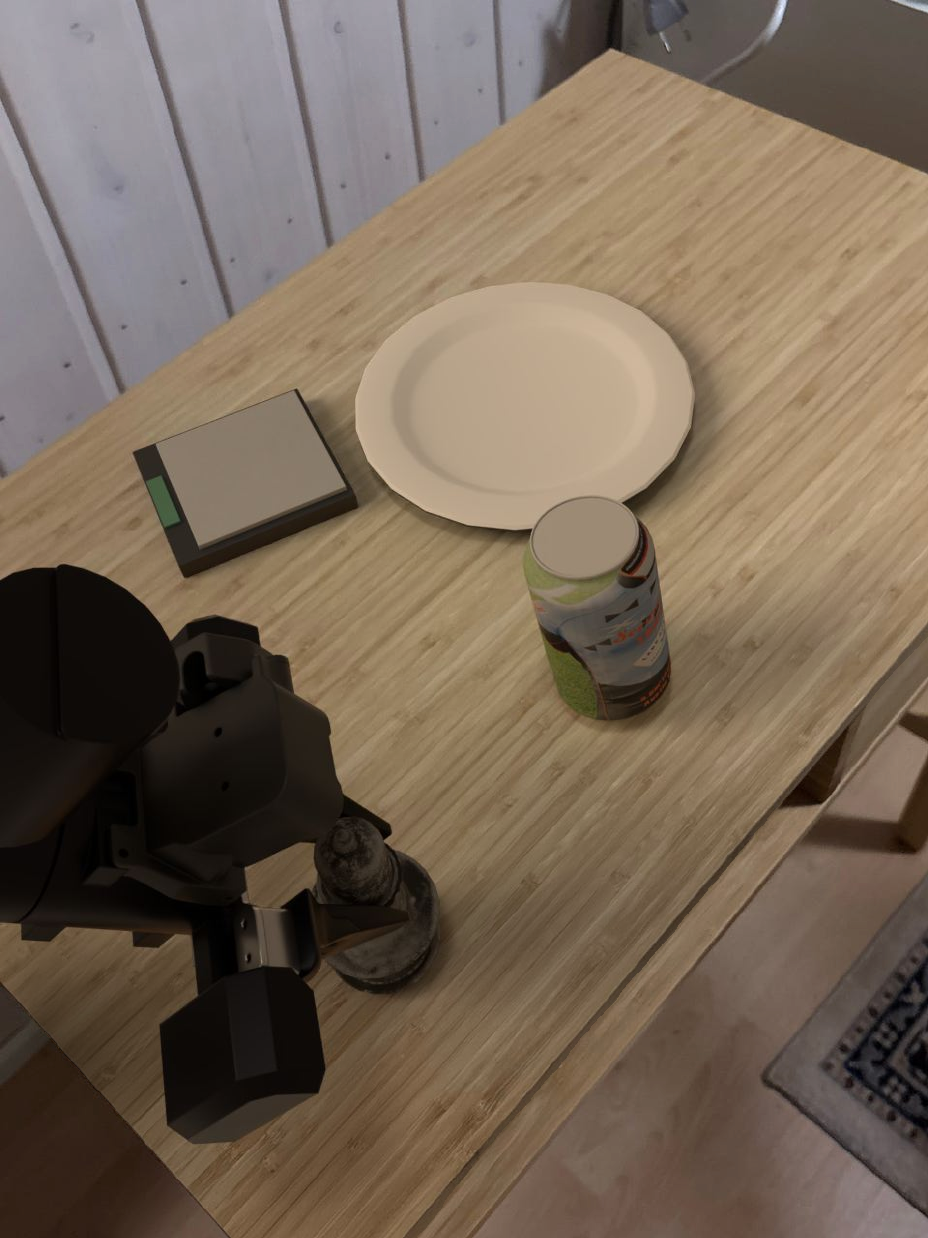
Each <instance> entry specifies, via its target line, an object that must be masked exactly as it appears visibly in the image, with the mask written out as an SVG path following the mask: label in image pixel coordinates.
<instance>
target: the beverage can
mask: <svg viewBox="0 0 928 1238" xmlns="http://www.w3.org/2000/svg"><path fill="white" fill-rule="evenodd" d="M522 558H523V559H522V565H523V566H522V568H523V575H524V578H525V582H526V586H527V589H528V593H529V596H530V600H531V602H532V606H533V610H534V613H535V616H536V621H537V625H538V628H539V631H540V635H541V639H542V642H543V645H544V649H545V653H546V657H547V660H548V663H549V667H550V671H551V674H552V678H553V681H554V685H555V688H556V691H557V693H558V695H559V697H560V698H561V699H562V701H563V703H565V704H566V705H567V707H568V708H569V709H571V710H573V711H574V712H575V713H577V714H579V715H580V716H581V715H582V716H584V717H585V718H587V719H588V718H589V719H593V720H596V721H605V722H607V721H620V720H625V719H629V718H632V717H635V716H638V715H639V714H640V715H641V714H642V713H643V712H645V711H647V710H648V709H650V708H651V707H652V706H654V705H655V704H656V703H657V702H658V701H659V700H660V699H661V698H662V696H663V695H664V693H665V691H666V690H667V687H668V686H669V683H670V680H671V676H672V661H671V656H670V655H671V654H670V648H669V639H668V635H667V634H668V632H667V626H666V619H665V611H664V606H663V605H664V604H663V596H662V590H661V583H660V576H659V570H658V569H659V568H658V562H657V561H658V560H657V554H656V547H655V543H654V540H653V536H652V535H651V533H650V531H649V529H648V528H647V526H646V525H645V524H644V523H643V522H642V521H641V520H640V518H638V517H637V516H635V514H634V512H632V510H631V509H630V508H629V507H628V506H626V505H625V503H623V504H622V503H620V502H618V501H617V500H614V499H611V498H608V497H604V496H595V495H587V496H579V497H574V498H570V499H567V500H564V501H562V502H560V503H558V504H556V505H554V506H553V507H551V508H550V509H548V510H547V511H546V512H545V513H544V514H543V515H541V517H540V518H539V519H538V520H537V522H536V523H535V525H534V527H533V529H532V530H531V532H530V536H529V539H528V542H527V543H526V546H525V549H524V552H523V557H522Z"/></svg>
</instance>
